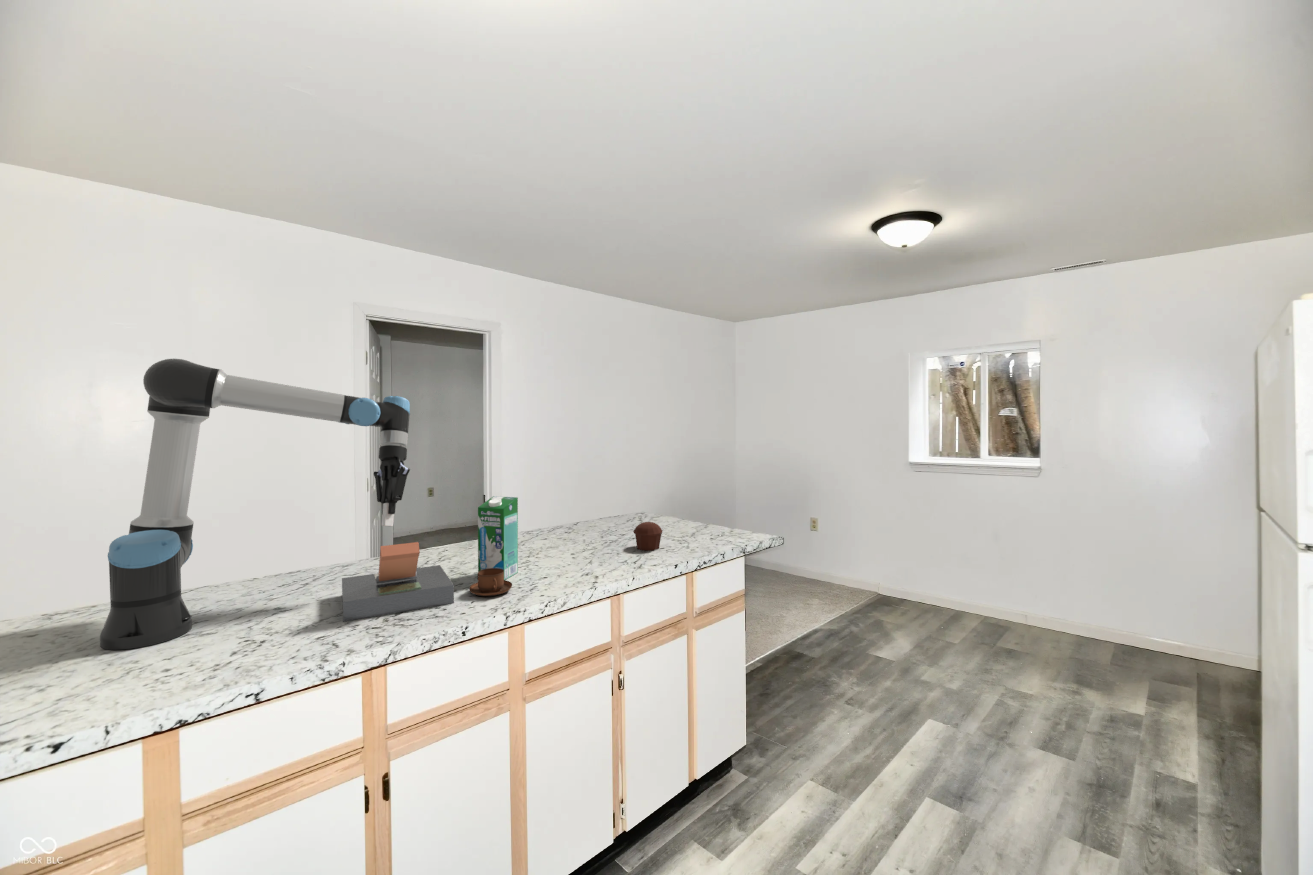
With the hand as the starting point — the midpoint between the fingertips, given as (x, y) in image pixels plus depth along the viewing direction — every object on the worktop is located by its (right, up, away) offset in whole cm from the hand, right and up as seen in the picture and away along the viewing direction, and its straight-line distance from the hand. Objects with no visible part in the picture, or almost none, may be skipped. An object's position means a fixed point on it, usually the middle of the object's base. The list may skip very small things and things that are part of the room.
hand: (387, 525), depth 152 cm
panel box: (+6, -19, -6) cm, 21 cm away
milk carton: (+27, -19, +16) cm, 37 cm away
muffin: (+75, -18, +53) cm, 94 cm away
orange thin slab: (+6, -13, -6) cm, 16 cm away
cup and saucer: (+30, -20, +1) cm, 36 cm away
